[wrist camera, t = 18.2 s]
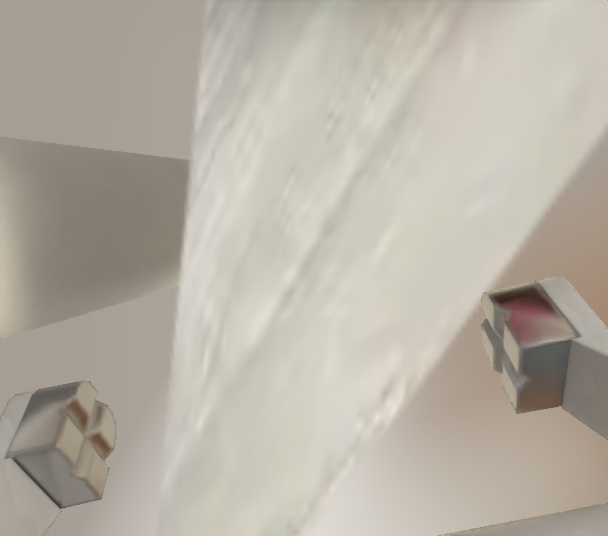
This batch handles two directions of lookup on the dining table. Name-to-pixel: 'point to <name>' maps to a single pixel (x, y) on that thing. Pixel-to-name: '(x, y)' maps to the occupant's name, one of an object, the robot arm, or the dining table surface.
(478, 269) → the dining table surface
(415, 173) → the dining table surface
